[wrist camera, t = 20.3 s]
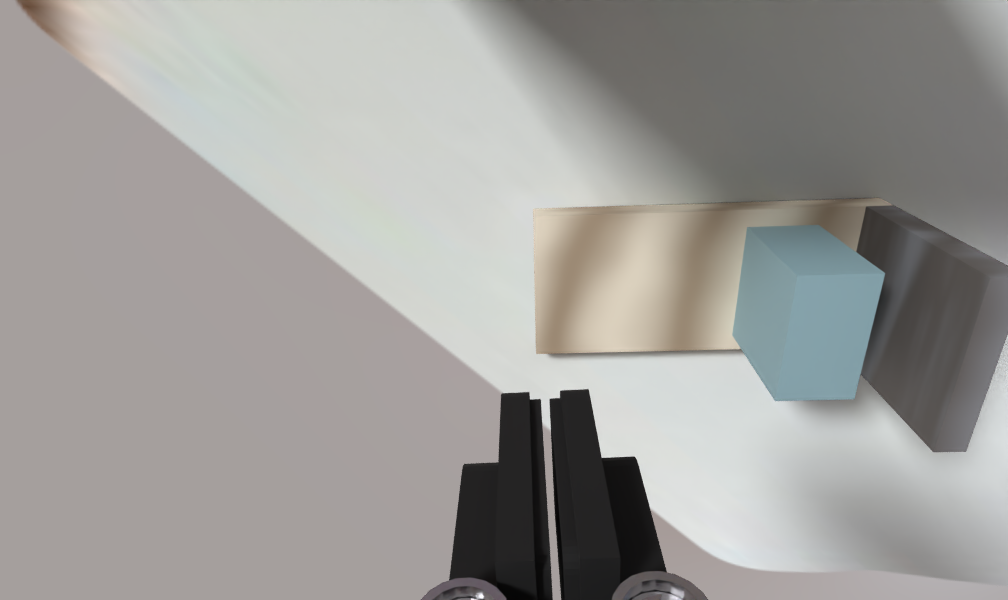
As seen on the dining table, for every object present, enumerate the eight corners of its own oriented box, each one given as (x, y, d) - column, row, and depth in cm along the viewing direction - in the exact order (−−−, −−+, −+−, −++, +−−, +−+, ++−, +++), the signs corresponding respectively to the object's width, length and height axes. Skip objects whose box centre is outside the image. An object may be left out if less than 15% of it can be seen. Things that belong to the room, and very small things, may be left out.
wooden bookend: (879, 197, 36) (1027, 276, 25) (848, 334, 40) (965, 451, 29) (533, 208, 36) (539, 289, 26) (535, 342, 40) (542, 458, 30)
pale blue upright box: (818, 224, 35) (885, 273, 29) (798, 333, 38) (854, 399, 32) (747, 227, 35) (797, 275, 29) (732, 335, 38) (774, 400, 32)
